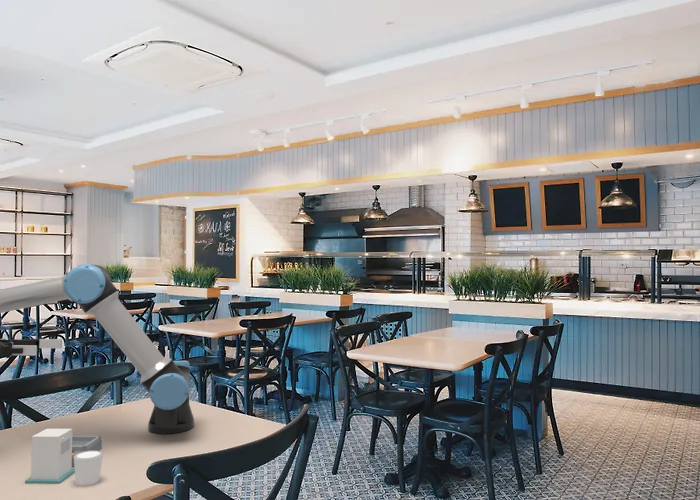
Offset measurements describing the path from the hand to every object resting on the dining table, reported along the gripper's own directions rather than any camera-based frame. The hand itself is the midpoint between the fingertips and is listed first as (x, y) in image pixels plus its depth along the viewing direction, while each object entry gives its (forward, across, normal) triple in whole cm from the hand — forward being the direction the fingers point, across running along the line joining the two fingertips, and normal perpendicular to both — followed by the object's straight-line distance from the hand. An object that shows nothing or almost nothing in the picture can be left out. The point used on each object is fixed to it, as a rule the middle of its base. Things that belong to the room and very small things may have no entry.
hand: (49, 347), depth 162 cm
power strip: (+7, -4, -32) cm, 33 cm away
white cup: (+21, +18, -32) cm, 42 cm away
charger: (+10, +15, -31) cm, 36 cm away
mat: (+10, +15, -32) cm, 37 cm away
